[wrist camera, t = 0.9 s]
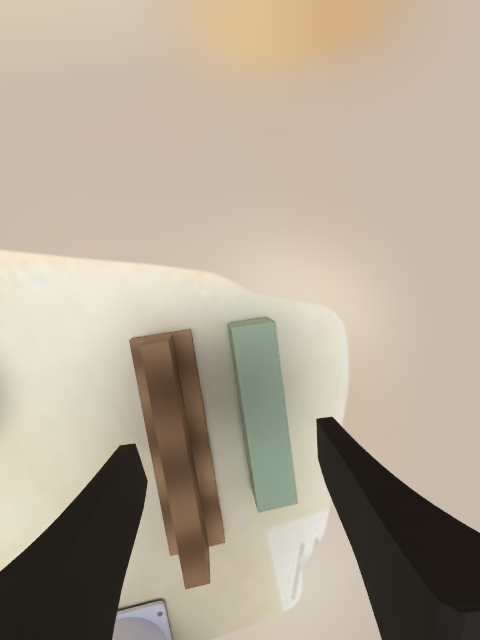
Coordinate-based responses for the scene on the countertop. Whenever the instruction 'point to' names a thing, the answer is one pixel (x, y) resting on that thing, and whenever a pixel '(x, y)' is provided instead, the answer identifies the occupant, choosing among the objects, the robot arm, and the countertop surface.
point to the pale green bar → (263, 412)
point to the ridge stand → (179, 449)
